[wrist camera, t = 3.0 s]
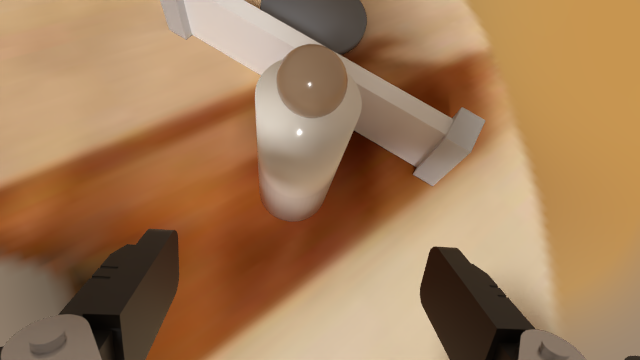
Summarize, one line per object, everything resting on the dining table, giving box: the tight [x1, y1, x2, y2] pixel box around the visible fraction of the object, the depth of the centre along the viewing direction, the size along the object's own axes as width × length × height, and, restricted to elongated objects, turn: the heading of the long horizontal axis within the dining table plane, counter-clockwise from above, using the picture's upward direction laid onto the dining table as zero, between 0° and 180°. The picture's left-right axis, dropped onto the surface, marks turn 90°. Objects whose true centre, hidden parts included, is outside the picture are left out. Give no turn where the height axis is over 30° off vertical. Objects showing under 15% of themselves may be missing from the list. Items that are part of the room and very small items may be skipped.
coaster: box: [260, 0, 367, 55], centre depth 33 cm, size 10×10×1 cm
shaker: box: [255, 44, 362, 221], centre depth 19 cm, size 5×5×14 cm
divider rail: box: [160, 0, 485, 186], centre depth 27 cm, size 26×3×6 cm, turn 59°
